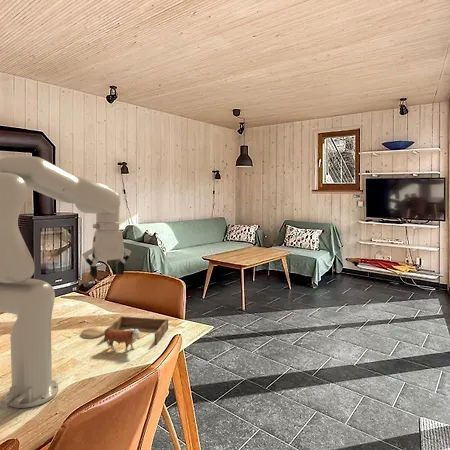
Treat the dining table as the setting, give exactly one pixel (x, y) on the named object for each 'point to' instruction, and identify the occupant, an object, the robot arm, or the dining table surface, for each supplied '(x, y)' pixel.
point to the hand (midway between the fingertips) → (107, 275)
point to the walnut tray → (142, 325)
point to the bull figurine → (122, 337)
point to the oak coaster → (93, 332)
